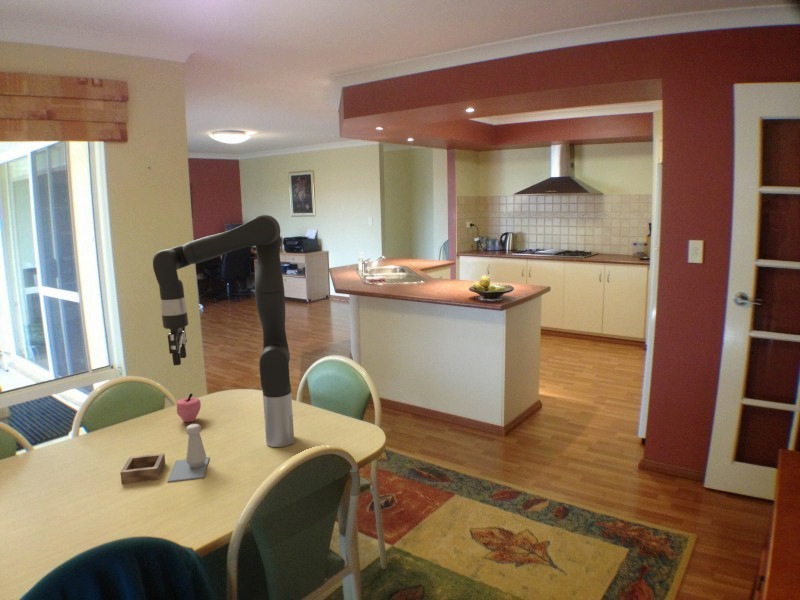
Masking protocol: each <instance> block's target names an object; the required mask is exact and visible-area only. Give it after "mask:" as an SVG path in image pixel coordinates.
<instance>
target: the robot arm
mask: <svg viewBox="0 0 800 600" xmlns="http://www.w3.org/2000/svg"><path fill="white" fill-rule="evenodd" d="M249 247H255V252H256V270H255V278H254V296H255V297H254V298H255V304H256V305H255V306H256V309H257V314H258V318H259V321H260V324H261V327H262V335H263V336H262V340H263V341H262V353H261V354H260V357H259V374H260V375H259V376H260V387H261V389H262V401H263V402H262V403H263V414H264V429H265V430H264V431H265V443H266V445H267V446H269V447H271V448H282V447H286V446H289V445H292V444H295V431H294V413H293V401H292V400H293V399H292V397H293V396H292V383H291V381H290V364H289V363H290V360H291V353H290V349H289V345H288V339H287V334H286V297H285V294H286V293H285V285H284V284H285V283H284V276H283V270H282V265H281V252H280V251H281V249H280V248H281V226H280V224H279V222H278V220H277V219H276V218H275V217H274V216H272V215H268V214H262V215H257V216H255V217H253V218H252V219H251V220H249V221H247V222H245V223H243V224H241V225H239V226H238V227H234V228H231V229H229V230H227V231H224V232H220V233H216V234H211V235H207V236H204V237H201V238H198V239H195V240H192V241H191V240H190V241H189V242H187V243H184V244H183V245H179V246H178V245H177V246H174V247H170V248H168V249H163V250H160V251H158V252H156V253H155V254H154V255H153V259H152V268H153V272H154V275H155V278H156V281H157V284H158V286H159V289H158V290H159V296H160V310H161V321H162V327H163V328H164V329H165V330H170V333H169V334H167V340H168V341H167V342H168V343H167V344H168V349H169V350H168V351H169V354H171V355H172V365H173V366H180V365H182V359H186V358H187V349H186V346H187V343H188V339H187V332H186V327H187V326H189V318H188V317H189V316H188V308H187V302H186V298H185V291H184V290H185V289H184V284H183V282H182V280H180V279H179V275H178V271H177V270H181V269H183V268H186V267H187V266H188V267H189V266H190V265H195V264H200V263H202V262H205V261H209V260H212V259H215V258H218V257H220V256H223V255H225V254H227V253H230V252H233V251H236V250H239V249H243V248H244V249H245V248H249Z"/></svg>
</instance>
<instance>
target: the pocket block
mask: <svg viewBox="0 0 800 600" xmlns="http://www.w3.org/2000/svg"><path fill="white" fill-rule="evenodd" d="M165 455H166V454H165V453H164V452H163V453H154V454H152V453H151V454H145V455H136V456H129V457H128V458H127V460H126V462H125V464H124V466H123V467H122V469H121V471H120V472H119V473H120V475H119V476H120V481H121V484H131V483H139V482H148V481H156V480H160V478H161V475H162V472H163V470H164V467H165V466H166V458H165Z"/></svg>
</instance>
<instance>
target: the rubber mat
mask: <svg viewBox="0 0 800 600" xmlns="http://www.w3.org/2000/svg"><path fill="white" fill-rule="evenodd" d="M209 461H210V456H206V460H205V463H204V465H203V466H202V467H200V468H197V469H194V468H190V466H189V464H188V463H187V462H186V458H185V459H178V460H175V461H174V465H173V467H172V468H171V472H170V473H169V475H168V478H167V483H174V482H182V481H189V480H190V481H191V480H198V479H204V478H205V475H206V472H207V468H208V466H209V465H208V464H209Z"/></svg>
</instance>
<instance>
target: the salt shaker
mask: <svg viewBox="0 0 800 600" xmlns="http://www.w3.org/2000/svg"><path fill="white" fill-rule="evenodd" d="M201 426H202V425H200V424H199V423H191V424H189V425H187V426H185V427H186V428H185V433H186V434H187V435H188V437H187V447H186V448H187V450H186V458H185V459H186V462H187V463H188V464H189V466H190V468H194V469H197V468H200V467H202V466H203V465H204V463H205V460H206V457H207V454H206V450H205V447H204V444H203V439H202V437H201V431H202V427H201Z"/></svg>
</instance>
